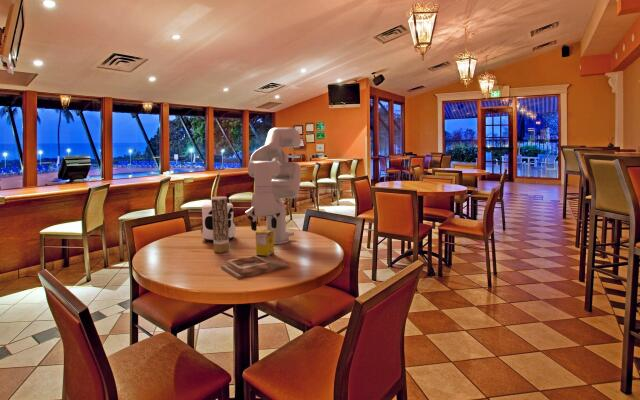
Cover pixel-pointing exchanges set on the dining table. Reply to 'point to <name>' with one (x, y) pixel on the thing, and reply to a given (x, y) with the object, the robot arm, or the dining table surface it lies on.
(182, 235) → the dining table surface
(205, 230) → the milk container
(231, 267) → the board
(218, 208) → the wooden log
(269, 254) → the supplement box
